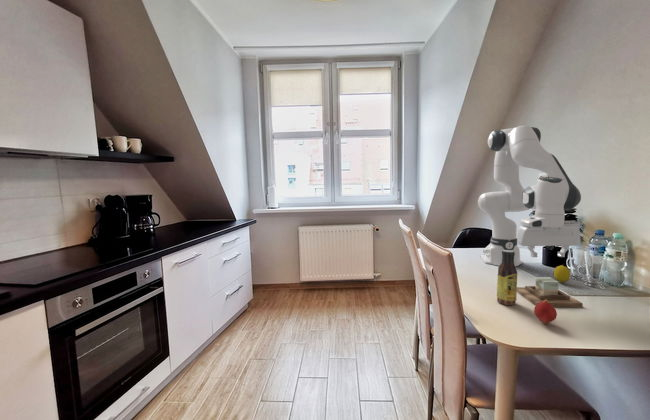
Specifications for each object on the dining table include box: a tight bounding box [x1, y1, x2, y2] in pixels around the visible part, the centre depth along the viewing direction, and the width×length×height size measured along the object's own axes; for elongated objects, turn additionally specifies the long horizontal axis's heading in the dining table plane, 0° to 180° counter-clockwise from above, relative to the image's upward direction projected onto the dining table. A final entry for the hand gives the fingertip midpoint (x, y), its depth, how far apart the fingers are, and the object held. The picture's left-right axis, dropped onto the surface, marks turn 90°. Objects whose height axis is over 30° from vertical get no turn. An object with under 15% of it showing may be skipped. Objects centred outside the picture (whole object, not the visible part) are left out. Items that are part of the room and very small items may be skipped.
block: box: [535, 276, 559, 295], centre depth 110 cm, size 5×5×6 cm
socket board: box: [517, 285, 583, 308], centre depth 110 cm, size 15×15×3 cm
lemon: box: [553, 264, 571, 284], centre depth 125 cm, size 6×6×8 cm
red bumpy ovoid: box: [533, 300, 558, 325], centre depth 92 cm, size 6×6×8 cm
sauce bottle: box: [496, 250, 518, 306], centre depth 108 cm, size 7×6×20 cm
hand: (547, 256), depth 109 cm, fingers open, 8 cm apart
